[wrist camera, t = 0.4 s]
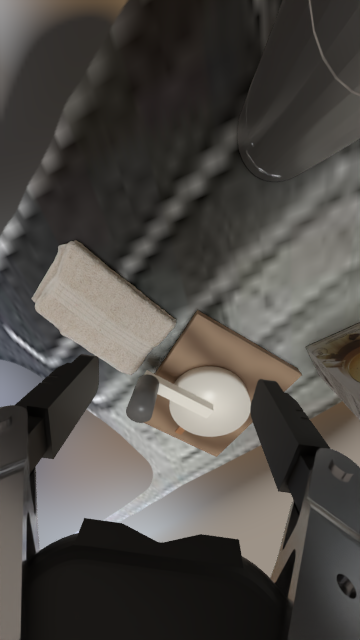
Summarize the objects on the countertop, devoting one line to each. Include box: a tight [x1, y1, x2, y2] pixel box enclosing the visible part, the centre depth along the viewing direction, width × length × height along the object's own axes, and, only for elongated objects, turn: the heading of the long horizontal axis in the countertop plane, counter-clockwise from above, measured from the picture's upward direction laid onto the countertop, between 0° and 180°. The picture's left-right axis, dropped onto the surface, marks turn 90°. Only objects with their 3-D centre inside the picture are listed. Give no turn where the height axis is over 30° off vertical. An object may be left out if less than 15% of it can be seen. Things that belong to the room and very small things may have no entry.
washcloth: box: [32, 240, 177, 375], centre depth 28 cm, size 12×18×3 cm, turn 51°
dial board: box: [144, 310, 302, 457], centre depth 33 cm, size 22×18×2 cm
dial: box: [126, 366, 251, 437], centre depth 28 cm, size 18×12×8 cm
